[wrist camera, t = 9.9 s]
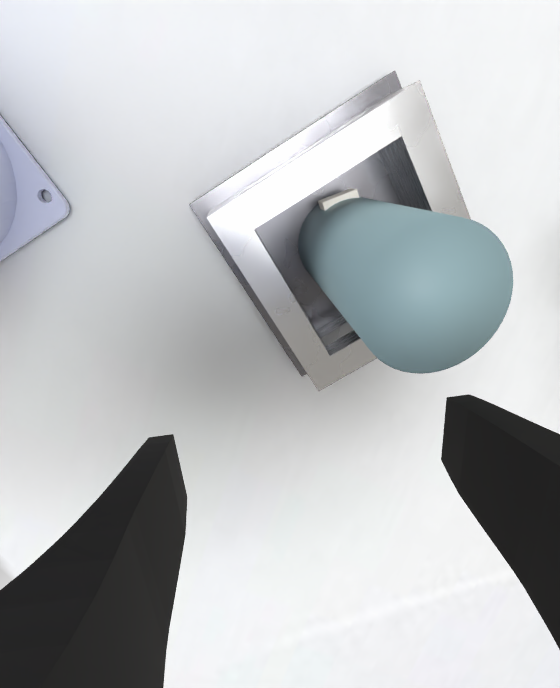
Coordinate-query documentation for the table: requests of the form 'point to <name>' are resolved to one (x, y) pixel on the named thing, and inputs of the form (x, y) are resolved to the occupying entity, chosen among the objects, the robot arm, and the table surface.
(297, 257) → the box
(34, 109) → the table surface
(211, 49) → the table surface
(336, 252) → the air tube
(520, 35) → the table surface
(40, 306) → the table surface
